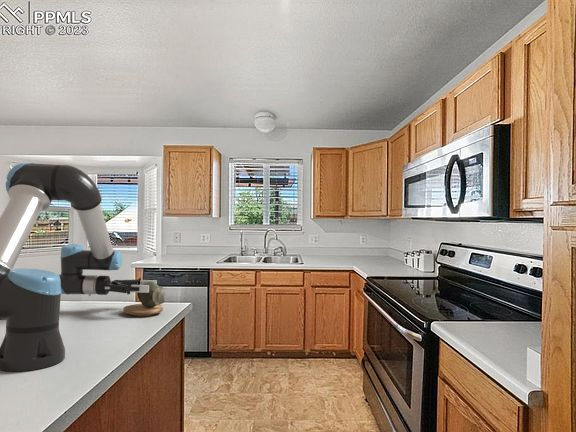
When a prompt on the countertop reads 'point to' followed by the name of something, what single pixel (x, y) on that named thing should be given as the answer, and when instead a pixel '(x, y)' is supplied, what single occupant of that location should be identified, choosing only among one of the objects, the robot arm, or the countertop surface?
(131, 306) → the lazy susan
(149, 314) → the susan base
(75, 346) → the countertop surface
